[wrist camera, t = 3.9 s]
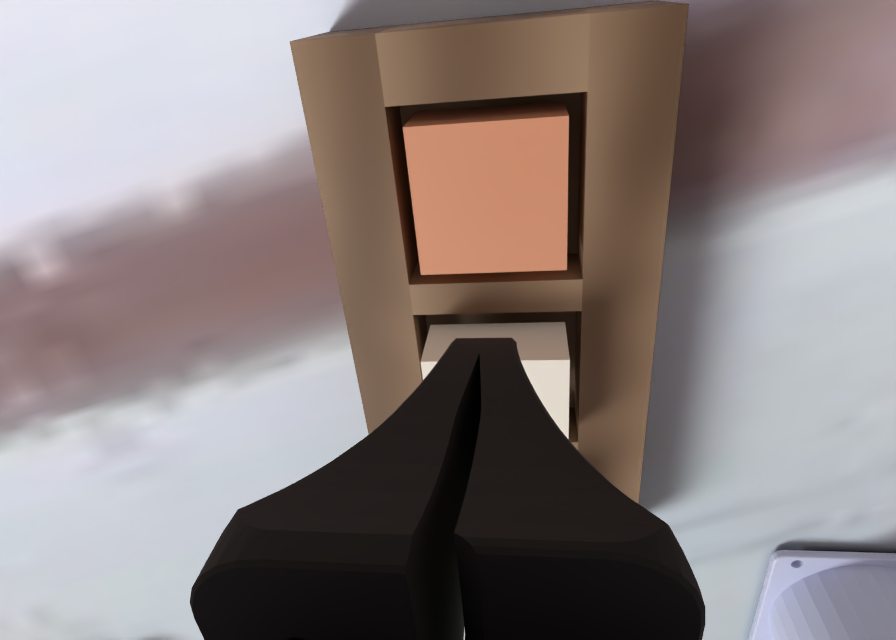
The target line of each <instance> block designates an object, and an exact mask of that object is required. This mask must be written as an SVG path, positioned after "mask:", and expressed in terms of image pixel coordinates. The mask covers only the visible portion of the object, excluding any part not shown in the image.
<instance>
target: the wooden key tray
mask: <svg viewBox="0 0 896 640" xmlns="http://www.w3.org/2000/svg"><path fill="white" fill-rule="evenodd" d="M688 6H689V4H683V3H674V2H666V1H650V2H640V3H629V4H619V5H608V6H598V7H587V8H577V9H566V10H556V11H545V12H535V13H524V14H514V15H503V16H493V17H482V18H472V19H461V20H451V21H440V22H430V23H419V24H409V25H398V26H388V27H377V28H367V29H356V30H346V31H335V32H327V33H323V34H319V35H314V36H310V37H306V38H302V39H298V40H294V41H290V45H291V50H292V55H293V60H294V65H295V70H296V75H297V80H298V85H299V90H300V95H301V100H302V105H303V110H304V115H305V120H306V125H307V130H308V135H309V140H310V145H311V150H312V155H313V160H314V165H315V170H316V175H317V180H318V185H319V190H320V195H321V199H322V204H323V209H324V214H325V219H326V224H327V229H328V234H329V239H330V244H331V249H332V254H333V259H334V264H335V269H336V274H337V279H338V284H339V289H340V294H341V299H342V304H343V309H344V314H345V319H346V324H347V329H348V334H349V339H350V344H351V349H352V353H353V358H354V363H355V368H356V373H357V378H358V383H359V388H360V393H361V398H362V403H363V408H364V413H365V418H366V423H367V428H368V433H369V434H370V433H372V432H373V431H374V430H375V429H376V428H377V427H379V426H380V425H381V424H382V423H383V422H384V421H385V420H386V419H387V418H388V417H389V416H391V415H392V414H393V413H394V412H395V411H396V410H397V409H398V407H399V406H400V405H401V404H402V403H403V402H404V401H405V400H406V399H407V398H408V397H409V396H410V395H411V394H412V393H413V392H414V390H415V389H416V388H417V387H418V386H419V385H420V383H421V382H422V381H423V377H422V369H421V358H422V354H423V351H424V347H425V343H426V340H427V336H428V332H429V328H430V325H446V324H493V323H539V322H565V326H566V334H567V342H568V349H569V357H570V379H569V439H568V440H569V441H570V442H571V443H572V444H573V445H574V447H575V448H576V449H577V450H578V451H579V452H580V453H581V454H582V456H583V457H584V458H585V459H586V460H587V461H588V462H589V463H591V464H592V465H593V466H594V467H595V468H596V469H597V470H598V471H599V472H600V473H601V474H602V475H603V476H604V477H605V478H606V479H607V480H608V481H609V482H610V483H611V484H613V485H614V486H615V487H616V488H618V489H619V490H620V491H621V492H622V493H624V494H625V495H626V496H628V497H629V498H630V499H632V500H633V501H635V502H636V503H639V493H640V483H641V473H642V463H643V453H644V443H645V433H646V424H647V414H648V404H649V394H650V384H651V374H652V364H653V354H654V344H655V334H656V324H657V314H658V304H659V294H660V284H661V274H662V265H663V255H664V245H665V235H666V225H667V215H668V205H669V195H670V185H671V175H672V165H673V155H674V145H675V135H676V125H677V115H678V105H679V96H680V86H681V76H682V66H683V56H684V46H685V36H686V26H687V16H688ZM558 101H564V103H565V106H566V109H567V112H568V115H569V146H568V225H567V270H554V271H525V272H495V273H465V274H436V275H421V272H420V263H419V255H418V247H417V239H416V231H415V223H414V215H413V207H412V198H411V190H410V182H409V174H408V166H407V158H406V150H405V142H404V133H403V126H404V125H405V124H406V123H407V122H408V121H409V119H410V118H411V117H412V116H413V115H414V113H415V112H422V111H436V110H449V109H463V108H477V107H490V106H504V105H517V104H531V103H545V102H558Z"/></svg>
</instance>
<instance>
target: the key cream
mask: <svg viewBox="0 0 896 640" xmlns="http://www.w3.org/2000/svg"><path fill="white" fill-rule="evenodd" d="M456 338H513V339H514V340H515V341H516V342H517V349H518V353H519V357H520V360H521V362H522V365H523V367H524V370H525V372H526V374H527V376H528V378H529V380H530V382H531V384H532V386H533V388H534V390H535V392H536V393H537V395H538V397H539V399H540V400H541V402H542V404H543V405H544V407H545V408H546V410H547V411H548V413H549V414H550V416H551V417H552V419H553V420H554V421H555V423H556V424H557V426H558V427H559V428H560V430H561V431H562V432H563V433H564V435H565V436H566V437H567V438H568V439H569V379H570V357H569V349H568V342H567V334H566V326H565V322H539V323H493V324H446V325H430V328H429V332H428V336H427V340H426V343H425V347H424V351H423V354H422V358H421V369H422V377H423V380H424V379H425V377H426V376H427V375H428V374H429V372H430V371H431V370H432V369H433V367H434V366H435V365H436V363H437V362H438V361H439V359H440V358H441V357H442V355H443V354H444V353H445V351H446V350H447V348H448V347H449V345H450V344H451V343H452V342H453V341H454V340H455V339H456Z"/></svg>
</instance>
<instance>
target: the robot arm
mask: <svg viewBox="0 0 896 640" xmlns="http://www.w3.org/2000/svg"><path fill="white" fill-rule="evenodd" d="M190 605H191V608H192V612H193V615H194V618H195V621H196V623H197V625H198V627H199V629H200V631H201V633H202V635H203V637H204V640H463V637H464V627H465V640H702V636H703V632H704V627H705V605H704V602H703V598H702V595H701V591H700V589H699V586H698V583H697V581H696V578H695V576H694V574H693V572H692V569H691V567H690V565H689V563H688V561H687V559H686V556H685V554H684V552H683V550H682V548H681V547H680V545H679V543H678V541H677V539H676V537H675V536H674V534H673V532H672V530H671V528H670V527H669V525H668V524H667V523H665V522H664V521H662V520H661V519H660V518H658V517H657V516H655V515H654V514H652V513H651V512H649V511H648V510H646V509H645V508H643V507H642V506H641V505H639V504H638V503H636V502H635V501H633V500H632V499H630V498H629V497H628V496H626V495H625V494H624V493H622V492H621V491H620V490H619V489H618V488H616V487H615V486H614V485H613V484H611V483H610V482H609V481H608V480H607V479H606V478H605V477H604V476H603V475H602V474H601V473H600V472H599V471H598V470H597V469H596V468H595V467H594V466H593V465H592V464H591V463H589V462H588V461H587V460H586V459H585V458H584V457H583V456H582V454H581V453H580V452H579V451H578V450H577V449H576V448H575V447H574V445H573V444H572V443H571V442H570V441H569V440H568V438H567V437H566V436H565V435H564V433H563V432H562V431H561V430H560V428H559V427H558V426H557V424H556V423H555V421H554V420H553V419H552V417H551V416H550V414H549V413H548V411H547V410H546V408H545V407H544V405H543V404H542V402H541V400H540V399H539V397H538V395H537V393H536V392H535V390H534V388H533V386H532V384H531V382H530V380H529V378H528V376H527V374H526V372H525V370H524V367H523V365H522V362H521V360H520V357H519V353H518V349H517V342H516V341H515V340H514V339H513V338H456V339H455V340H454V341H453V342H452V343H451V344H450V345H449V347H448V348H447V350H446V351H445V353H444V354H443V355H442V357H441V358H440V359H439V361H438V362H437V363H436V365H435V366H434V367H433V369H432V370H431V371H430V372H429V374H428V375H427V376H426V377H425V379H424V380H423V381H422V382H421V383H420V385H419V386H418V387H417V388H416V389H415V390H414V392H413V393H412V394H411V395H410V396H409V397H408V398H407V399H406V400H405V401H404V402H403V403H402V404H401V405H400V406H399V407H398V409H397V410H396V411H395V412H394V413H393V414H392V415H391V416H389V417H388V418H387V419H386V420H385V421H384V422H383V423H382V424H381V425H380V426H379V427H377V428H376V429H375V430H374V431H373V432H372V433H370V434H369V435H368V436H367V437H365V438H364V439H363V440H361V441H360V442H359V443H357V444H356V445H354V446H353V447H351V448H350V449H349V450H347V451H346V452H344V453H343V454H342V455H340V456H339V457H337V458H336V459H334V460H333V461H331V462H330V463H328V464H327V465H325V466H323V467H322V468H320V469H318V470H317V471H315V472H313V473H312V474H310V475H308V476H306V477H304V478H303V479H301V480H299V481H297V482H295V483H294V484H292V485H290V486H288V487H286V488H284V489H282V490H280V491H278V492H275V493H273V494H271V495H269V496H267V497H265V498H263V499H260V500H258V501H256V502H254V503H252V504H250V505H247V506H245V507H243V508H240V509H238V510H237V512H236V513H235V515H234V516H233V518H232V519H231V521H230V522H229V524H228V525H227V527H226V528H225V530H224V531H223V533H222V534H221V536H220V538H219V540H218V541H217V543H216V545H215V547H214V549H213V550H212V552H211V554H210V556H209V558H208V560H207V561H206V563H205V565H204V567H203V569H202V570H201V572H200V574H199V576H198V578H197V580H196V581H195V583H194V585H193V587H192V591H191V598H190ZM748 640H896V553H869V552H836V551H804V550H779V551H776V552H775V553H773V555H772V556H771V559H770V563H769V566H768V570H767V574H766V577H765V581H764V585H763V588H762V592H761V595H760V599H759V603H758V606H757V610H756V614H755V617H754V621H753V625H752V628H751V632H750V636H749V639H748Z"/></svg>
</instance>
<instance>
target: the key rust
mask: <svg viewBox="0 0 896 640" xmlns="http://www.w3.org/2000/svg"><path fill="white" fill-rule="evenodd" d="M403 133H404V142H405V150H406V158H407V166H408V174H409V182H410V190H411V198H412V207H413V215H414V223H415V231H416V239H417V247H418V255H419V263H420V272H421V275H436V274H465V273H495V272H525V271H554V270H567V225H568V146H569V115H568V112H567V109H566V106H565V103H564V101H558V102H545V103H531V104H517V105H504V106H490V107H477V108H463V109H449V110H436V111H422V112H415V113H414V115H413V116H412V117H411V118H410V119H409V121H408V122H407V123H406V124H405V125H404V126H403Z"/></svg>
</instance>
